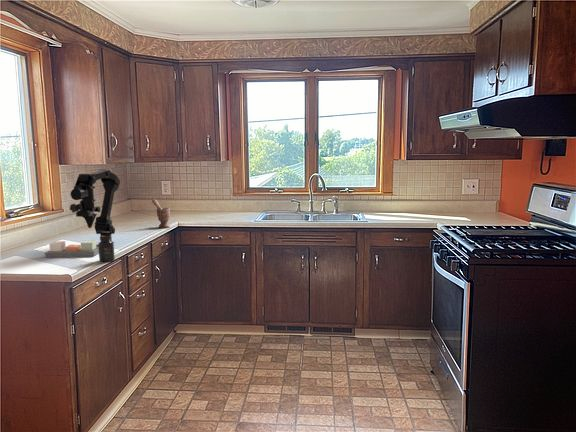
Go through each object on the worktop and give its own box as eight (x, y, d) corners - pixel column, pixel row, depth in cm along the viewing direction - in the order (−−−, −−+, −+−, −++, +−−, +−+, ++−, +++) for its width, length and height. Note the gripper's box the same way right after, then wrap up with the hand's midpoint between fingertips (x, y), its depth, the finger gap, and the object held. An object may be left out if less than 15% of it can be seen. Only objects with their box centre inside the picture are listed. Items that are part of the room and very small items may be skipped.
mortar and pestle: (161, 229, 292) (160, 199, 289) (151, 228, 296) (150, 199, 293) (173, 227, 302) (172, 197, 299) (163, 226, 306) (162, 197, 303)
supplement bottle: (116, 258, 214) (115, 234, 212) (111, 262, 207) (110, 237, 205) (102, 259, 214) (100, 234, 212) (96, 262, 207) (95, 237, 205)
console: (54, 252, 226) (53, 248, 226) (100, 251, 228) (100, 247, 228) (45, 257, 217) (45, 252, 216) (94, 256, 219) (93, 251, 218)
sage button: (85, 248, 225) (84, 240, 225) (96, 248, 226) (95, 240, 225) (81, 250, 220) (80, 242, 219) (92, 250, 220) (92, 242, 220)
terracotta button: (70, 252, 225) (69, 244, 224) (81, 252, 225) (80, 244, 225) (66, 255, 220) (65, 247, 219) (77, 254, 220) (76, 246, 219)
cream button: (54, 249, 224) (54, 241, 223) (65, 248, 224) (65, 241, 224) (49, 251, 219) (49, 243, 218) (61, 251, 219) (60, 243, 218)
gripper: (78, 196, 236) (80, 225, 239) (64, 200, 218) (66, 231, 220) (100, 196, 237) (101, 224, 240) (87, 200, 219) (89, 231, 221)
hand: (89, 227), depth 230 cm, fingers closed
